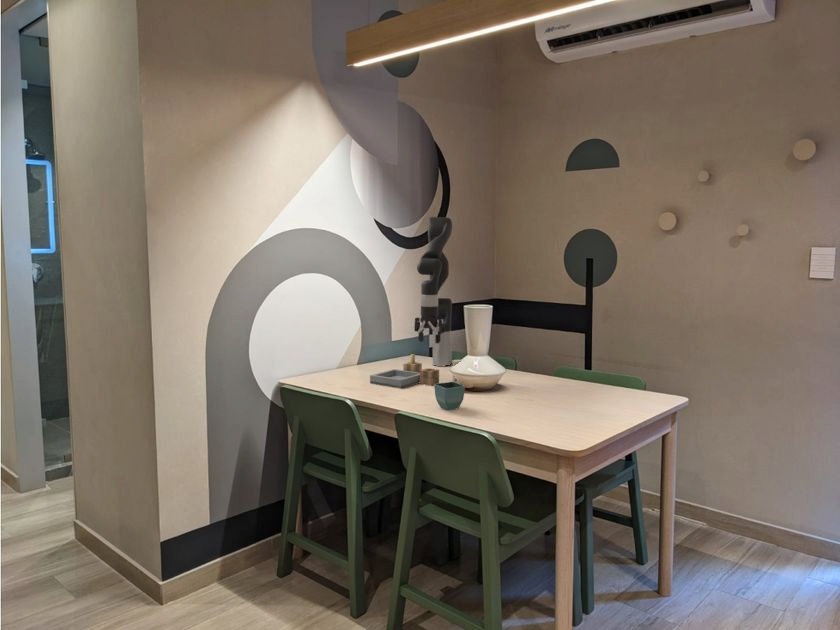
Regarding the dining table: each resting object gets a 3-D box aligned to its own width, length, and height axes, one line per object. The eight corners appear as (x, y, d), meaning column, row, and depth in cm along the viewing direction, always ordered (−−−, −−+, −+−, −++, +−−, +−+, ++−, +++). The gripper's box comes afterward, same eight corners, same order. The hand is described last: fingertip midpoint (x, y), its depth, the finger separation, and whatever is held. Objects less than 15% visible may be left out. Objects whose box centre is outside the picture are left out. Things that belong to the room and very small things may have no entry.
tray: (394, 376, 311) (393, 369, 311) (424, 381, 302) (424, 373, 301) (370, 383, 298) (370, 375, 297) (401, 388, 288) (401, 380, 288)
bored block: (427, 381, 301) (427, 368, 300) (439, 383, 298) (439, 369, 297) (419, 383, 296) (419, 370, 296) (431, 385, 293) (431, 372, 292)
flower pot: (465, 409, 254) (465, 385, 253) (445, 412, 250) (445, 388, 248) (453, 404, 261) (453, 381, 260) (433, 407, 257) (433, 383, 256)
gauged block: (411, 374, 316) (411, 353, 315) (421, 375, 313) (421, 354, 312) (403, 376, 311) (403, 354, 310) (414, 378, 308) (413, 356, 307)
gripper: (448, 305, 292) (447, 342, 294) (421, 303, 300) (421, 340, 302) (438, 306, 286) (438, 344, 288) (410, 304, 294) (410, 342, 296)
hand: (429, 342), depth 295 cm, fingers open, 8 cm apart
